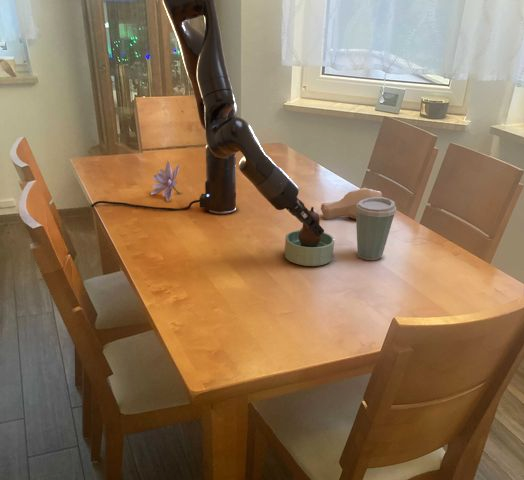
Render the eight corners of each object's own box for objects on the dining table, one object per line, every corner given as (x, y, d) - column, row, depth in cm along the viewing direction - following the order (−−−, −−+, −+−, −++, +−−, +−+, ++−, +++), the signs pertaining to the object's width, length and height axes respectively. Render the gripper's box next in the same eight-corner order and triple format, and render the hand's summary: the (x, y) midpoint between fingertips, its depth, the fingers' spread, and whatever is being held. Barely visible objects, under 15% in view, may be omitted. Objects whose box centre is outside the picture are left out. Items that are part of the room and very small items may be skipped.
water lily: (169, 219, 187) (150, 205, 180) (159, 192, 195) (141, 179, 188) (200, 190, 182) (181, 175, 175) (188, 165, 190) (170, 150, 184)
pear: (297, 251, 142) (300, 210, 136) (297, 242, 147) (300, 202, 141) (320, 253, 142) (324, 211, 136) (320, 244, 147) (324, 203, 141)
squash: (388, 222, 172) (391, 196, 165) (326, 232, 170) (326, 206, 164) (377, 205, 179) (379, 180, 173) (318, 214, 178) (318, 189, 172)
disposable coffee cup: (364, 266, 142) (372, 210, 134) (341, 251, 150) (347, 197, 142) (396, 259, 147) (406, 205, 138) (372, 245, 155) (380, 193, 146)
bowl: (283, 266, 141) (284, 246, 138) (285, 247, 152) (286, 228, 149) (332, 269, 140) (334, 249, 137) (331, 249, 151) (333, 231, 148)
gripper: (256, 189, 139) (297, 230, 149) (274, 207, 128) (317, 250, 137) (277, 166, 137) (317, 210, 147) (296, 183, 126) (338, 228, 136)
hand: (316, 229), depth 142 cm, fingers closed on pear, 5 cm apart
